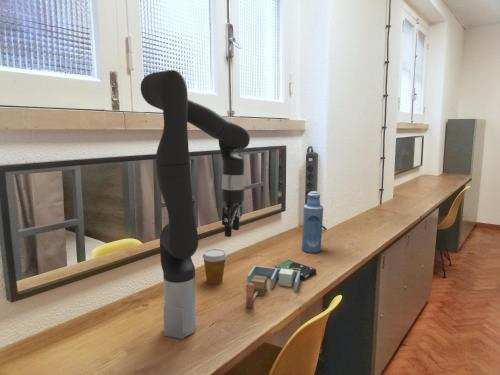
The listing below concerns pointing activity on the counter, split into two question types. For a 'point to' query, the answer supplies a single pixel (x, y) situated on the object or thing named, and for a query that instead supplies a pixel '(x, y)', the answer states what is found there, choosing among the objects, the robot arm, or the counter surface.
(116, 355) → the counter surface
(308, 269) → the disk drive
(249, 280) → the lane rack
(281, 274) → the block
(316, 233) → the bottle
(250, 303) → the block with brown handle
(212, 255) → the disposable coffee cup
